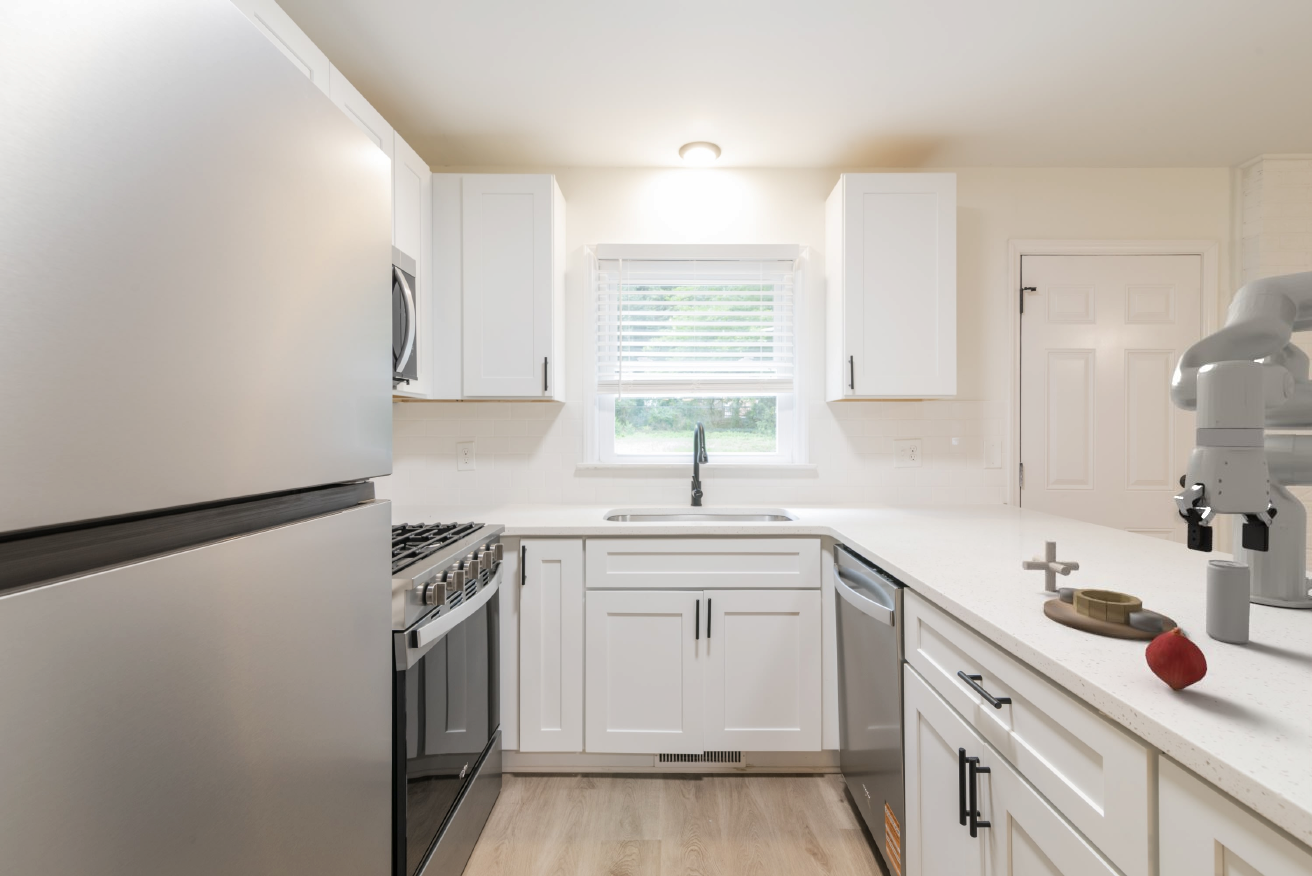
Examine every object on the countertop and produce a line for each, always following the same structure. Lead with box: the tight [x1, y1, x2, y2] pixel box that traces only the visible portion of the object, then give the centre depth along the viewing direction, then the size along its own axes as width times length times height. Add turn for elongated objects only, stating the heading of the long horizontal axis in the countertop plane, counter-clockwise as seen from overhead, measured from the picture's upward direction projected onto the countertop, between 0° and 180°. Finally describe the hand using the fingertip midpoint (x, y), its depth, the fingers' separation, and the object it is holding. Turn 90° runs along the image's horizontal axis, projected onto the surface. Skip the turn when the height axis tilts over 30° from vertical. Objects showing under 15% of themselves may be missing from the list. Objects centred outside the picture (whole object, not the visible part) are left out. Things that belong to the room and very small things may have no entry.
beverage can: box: [1205, 559, 1251, 645], centre depth 89 cm, size 5×5×12 cm
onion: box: [1144, 627, 1208, 691], centre depth 72 cm, size 6×6×8 cm
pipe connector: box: [1021, 540, 1080, 592], centre depth 116 cm, size 10×10×10 cm
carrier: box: [1043, 587, 1178, 641], centre depth 98 cm, size 18×18×4 cm
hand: (1227, 550), depth 88 cm, fingers open, 9 cm apart
